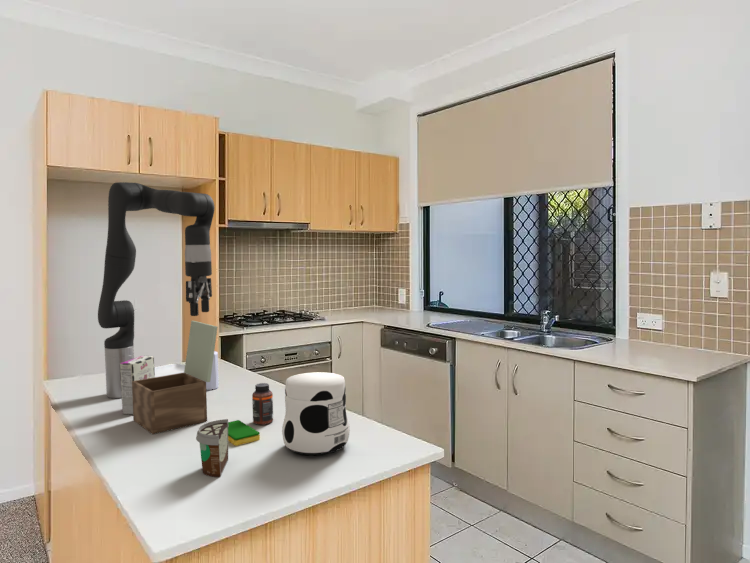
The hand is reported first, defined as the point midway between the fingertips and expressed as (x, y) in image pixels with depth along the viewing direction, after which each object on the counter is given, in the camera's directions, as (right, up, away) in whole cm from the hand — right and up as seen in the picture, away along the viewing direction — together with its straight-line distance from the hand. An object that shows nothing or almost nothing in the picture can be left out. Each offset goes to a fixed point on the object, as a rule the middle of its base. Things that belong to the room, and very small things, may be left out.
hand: (200, 313), depth 161 cm
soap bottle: (-11, -30, +37) cm, 49 cm away
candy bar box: (-23, -32, +11) cm, 40 cm away
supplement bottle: (+20, -32, -2) cm, 38 cm away
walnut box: (-9, -32, -1) cm, 33 cm away
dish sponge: (+15, -33, -13) cm, 39 cm away
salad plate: (-28, -29, +51) cm, 65 cm away
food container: (+14, -35, -35) cm, 51 cm away
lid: (-2, -11, +4) cm, 12 cm away
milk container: (+38, -34, -22) cm, 55 cm away
